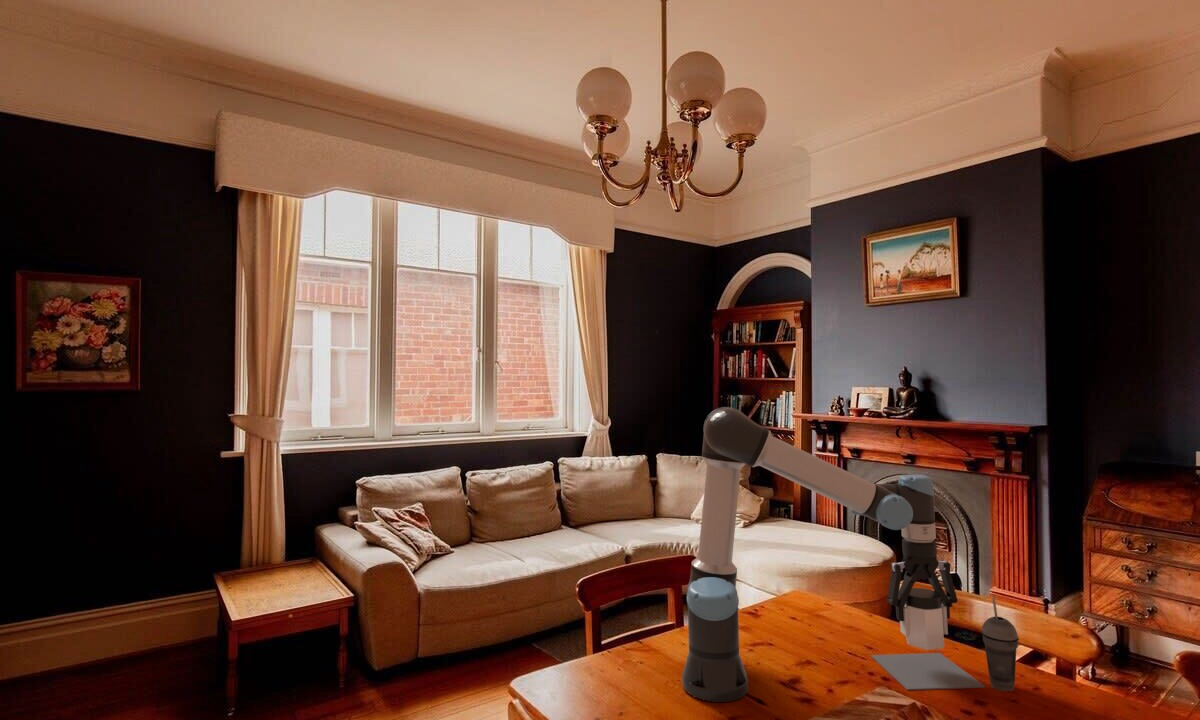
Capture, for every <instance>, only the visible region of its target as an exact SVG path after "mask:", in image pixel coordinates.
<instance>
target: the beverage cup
mask: <svg viewBox="0 0 1200 720" xmlns="http://www.w3.org/2000/svg"><path fill="white" fill-rule="evenodd" d="M991 598H992V604H993V612H994V613H993V614H994V616H991V617H989V618H987V619H985V621H984V622H983V624H982V627H981V628H982V629H981V635H982V641H983V643H984V648H985V657H986V663H987V669H988V676H989V680H990V687H991V688H994V689H995V690H997V689H998V691H1000V690H1001V691H1002V692H1006V691H1010V692H1014V690H1015V683H1016V664H1017V663H1016V662H1017V649H1018V645H1019V635H1018V632H1017V630H1016V627H1015V626H1014V624H1013V623H1012V622H1011V621H1010V620H1008V619H1007V618H1004V617H1002V616H998V611H997V609H998V608H997V602H996V597H995V596H994V595H993V596H991ZM1001 691H1000V692H1001Z"/></svg>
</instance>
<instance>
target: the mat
mask: <svg viewBox="0 0 1200 720" xmlns="http://www.w3.org/2000/svg"><path fill="white" fill-rule="evenodd" d="M870 657H871V658H872V659H873V661H875V662H876V663H878V664H879V666H881V667H882V669H884V670H885V671H886V672H887V673H888V674H889V675H891V677H892V678H894V680H896V681H897V682H898V683H899V684H900V685H901V686H902V687H904V688H905V690H907V691H925V690H950V689H953V690H954V689H955V690H956V689H977V688H978V689H981V688H986V686H985V685H984V684H983V683H981V681H979V680H977V679H976V678H974V677H973V676H972V675H971V674H970V673H968V672H967V671H965V670H964V669H963V668H961V667H960V666H958V665H957V664H956V663H955V662H953V661H952V660H950V659H949V658H948V657H946V656H945V655H944V654H943V653H940V652H928V653H927V652H925V653H923V652H922V653H901V654H900V653H898V654H897V653H895V654H871V655H870Z"/></svg>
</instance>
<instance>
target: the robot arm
mask: <svg viewBox="0 0 1200 720" xmlns="http://www.w3.org/2000/svg"><path fill="white" fill-rule="evenodd" d="M702 432H703V439H702V440H703V441H702V451H701V458H702V460H703V461H704V462H705V464H706V468H705V469H706V472H705V481H704V491H703V502H702V515H701V521H700V534H699V544H698V555H697V557H696V558H695V559H693V560H691V566H690V575H689V582H688V584H687V594H686V603H687V620H688V621H687V622H688V623H687V624H688V625H687V627H688V629H687V630H688V632H687V633H688V653H687V656H686V660H685V664H684V667H683V671H682V675H681V678H682V679H681V682H682V683H681V684H683V686H682V688H683V687H684V688H685V690H686V691H687V692H689V693H690V694H691V695H693V696H695V697H698V698H700V699H699V700H701V699H704V700H703V701H705V700H707V701H706V702H710V701H712V702H713V703H726V702H727V703H728V702H734V701H737V700H739V699H742V698H743V697H745V696H746V695H747V693H748V691H749V679H748V675H747V672H746V669H745V667H744V664H743V660H742V658H741V655H740V631H739V627H740V626H739V601H740V600H739V595H738V591H737V587H736V586H737V575H738V568H737V567H736V565H735V564H734V563H733V554H734V541H735V534H736V533H735V532H736V524H737V523H736V521H737V511H738V502H739V491H740V481H741V479H740V477H741V469H742V468H743V467H744V466H746V465H748V466H750V467H752V468H755V467H762V468H763V469H766V470H768V471H770V472H772V473H775V474H776V475H779V476H780V477H783V478H785V479H787V480H788V481H791V482H794V483H795V484H797V485H800V486H801V487H804V488H806V489H808V490H811V491H812V492H814V493H816V494H818V495H821V496H823V497H825V498H827V499H829V500H831V501H833V502H836V504H837V503H838V504H839V505H842V506H844V507H846V508H848V509H849V511H850V512H851V513H852V514H853V515H855V516H858V515H859V516H865V517H867V518H869V519H870V520H873V521H875V522H877V523H879V524H880V525H881V526H882V527H884V528H887V529H890V530H893V531H899V530H901V537H902V539H901V543H902V544H901V546H902V554H903V555H902V556H903V558H902V561H901V562H900V561H899V562H894V561H892V562H890V569H891V574H890V580H889V586H888V592H887V593H888V594H887V599H886V600H887V603H889V604H890V605H892V606H894V607H895V614H896V615H895V616H896V617H895V618H896V619H897V620H898V621H899V629H900V630H899V631H900V633H901V634H903V635H904V636H905V637H906V636H909V623H908V608H906V607H905V604H906V601H907V599H908V596H909V594H910V592H911V589H912V588H914V584H916V582H917V581H918V580H921V579H926V580H928V582H929V584H930V585H931V587H932V590H933V591H936V592H937V593H939V594H940V595H941V608H942V615H943V633H944V635H949V632H948V631H949V630H948V629H949V627H948V620H950V618H951V608H952V607H953V604H957V603H958V598H957V593H956V590H955V586H954V582H953V578H952V573H951V563H950V562H948V561H946V560H944V559H941V560H938V559H937V556H938V548H937V547H938V546H937V541H935V540H936V538H937V533H936V532H937V531H936V519H935V517H936V515H935V490H934V485H933V480H932V478H931V477H929V476H927V475H925V474H915V473H913V474H912V473H911V474H901V475H900V476H898V482H897V483H873V482H871V481H869V480H867V479H865V478H863V477H860V476H858V475H856V474H854V473H852V472H849V471H848V470H845V469H843V468H841V467H839V466H836V465H835V464H833V463H830V462H829V461H826V460H824V459H822V458H820V457H818V456H815V455H813V454H811V453H809V452H807V451H805V450H803V449H801V448H798V447H796V446H794V445H792V444H790V443H788V442H786V441H783V440H781V439H779V438H776V437H775V436H773V434H772V431H771V430H769V429H768V428H765V427H764V426H762V425H760V424H759V423H756V422H755V421H754V420H752V419H751V418H749V417H748V416H747V415H746V414H744V413H743V412H742V411H741V410H739V409H737V408H735V407H730V406H721V407H718V408H716V409H714V410H712V411H711V412H710V413H709V414H708V415H707V416H706V418H705V420H704V423H703V431H702ZM937 568H938V569H939V574H940V577H941V580H942V585H943V586H942V585H941V582H940V581H939V578H938V576H937V574H936V570H937ZM903 569H905V572H904V575H903V580H902V573H903V571H904V570H903ZM901 581H902V583H901ZM685 690H684V691H685ZM686 691H685V692H686ZM687 692H686V693H687ZM691 695H690V696H691ZM693 696H692V697H693ZM695 697H694V698H695ZM698 698H697V699H698ZM712 702H711V703H712Z"/></svg>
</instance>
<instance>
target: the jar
mask: <svg viewBox="0 0 1200 720" xmlns="http://www.w3.org/2000/svg"><path fill="white" fill-rule="evenodd" d="M905 607H906V608H908V623H909V636H905V638H906V642H907V645H908V646H912V647H915V648H918V649H922V650H925V651H931V650H932V651H933V650H934V651H935V650H941V649H945V637H944V635H945V634H944V633H943V615H942V608H941V595H940V594H939V593H937V592H936V591H934V589H929V588H924V587H923V588H921V587H912V589H911V592H910V594H909V596H908V599H907V601H906V604H905Z"/></svg>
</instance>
